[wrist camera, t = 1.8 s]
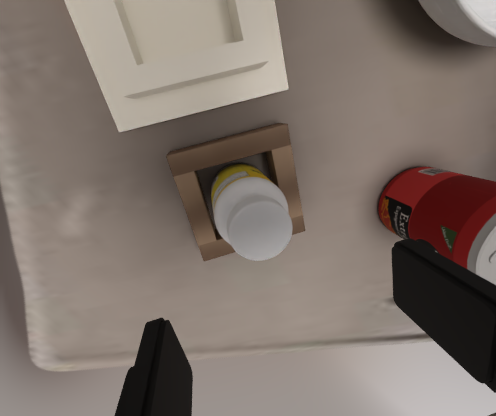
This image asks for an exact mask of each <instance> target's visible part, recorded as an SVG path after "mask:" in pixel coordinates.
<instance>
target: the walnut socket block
mask: <svg viewBox="0 0 496 416" xmlns="http://www.w3.org/2000/svg"><path fill="white" fill-rule="evenodd" d="M263 152H266V156H267V161H268V166H269V170H270V175H271V180H272V182H273V183H274V184H275V185H276V186H277V187H278V188H279V189H280V190H281V191H282V193H283V194H284V196H285V198H286V201H287V204H288V212H289V216H290V218H291V221H292V235H293V234H296V233H300V232H303V231H305V226H304V220H303V214H302V208H301V202H300V196H299V190H298V184H297V178H296V172H295V166H294V160H293V154H292V148H291V142H290V136H289V130H288V124H283V123H277V124H273V125H269V126H266V127H262V128H258V129H254V130H250V131H247V132H243V133H239V134H235V135H232V136H228V137H224V138H220V139H216V140H213V141H209V142H205V143H201V144H198V145H194V146H190V147H186V148H183V149H179V150H175V151H171V152H169V153H168V154H167V156H166V158H167V160H168V163H169V166H170V169H171V171H172V174H173V177H174V180H175V183H176V185H177V188H178V191H179V194H180V196H181V199H182V202H183V205H184V208H185V210H186V213H187V216H188V219H189V221H190V224H191V227H192V230H193V232H194V235H195V238H196V241H197V244H198V246H199V249H200V252H201V255H202V257H203V260H204V261H207V260H210V259H213V258H217V257H220V256H223V255H227V254H230V253H233V252H236V251H235V250H234V249H233V247H232V246H231V245H230V244H229V243H227V242H226V241H225V240H224V239H223V238H222V237H221V235H220V234H219V232H218V230H217V229H215V227H214V224H213V221H212V218H211V215H210V211H209V208H208V205H207V202H206V199H205V196H204V193H203V190H202V187H201V183H200V180H199V177H198V174H197V170H200V169H204V168H208V167H211V166H215V165H219V164H222V163H226V162H230V161H233V160H237V159H241V158H244V157H248V156H252V155H255V154H259V153H263Z"/></svg>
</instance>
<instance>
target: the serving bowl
mask: <svg viewBox="0 0 496 416" xmlns="http://www.w3.org/2000/svg"><path fill="white" fill-rule="evenodd" d="M418 1H419V3H420V4H421V6H422V7H423V9H424V10H425V11H426V13H427V14H428V15H429V16H430V17H431V18H432V19H433V20H434V22H435V23H437V24H438V25H439V26H440V27H441V28H443V29H444V30H445V31H447V32H448V33H450V34H451V35H453V36H455V37H457V38H459V39H462V40H464V41H467V42H470V43H473V44H477V45H482V46H489V47H496V0H418Z"/></svg>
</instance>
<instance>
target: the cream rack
mask: <svg viewBox="0 0 496 416" xmlns="http://www.w3.org/2000/svg"><path fill="white" fill-rule="evenodd" d="M64 1H65V4H66V6H67V9H68V11H69V13H70V16H71V18H72V21H73V23H74V25H75V28H76V30H77V33H78V35H79V37H80V40H81V42H82V45H83V47H84V49H85V52H86V54H87V57H88V59H89V61H90V64H91V66H92V69H93V71H94V73H95V76H96V78H97V81H98V83H99V85H100V88H101V90H102V93H103V95H104V97H105V100H106V102H107V105H108V107H109V109H110V112H111V114H112V117H113V119H114V121H115V124H116V126H117V129H118V131H119V132H124V131H128V130H132V129H136V128H140V127H144V126H147V125H151V124H155V123H159V122H163V121H167V120H171V119H175V118H179V117H183V116H187V115H191V114H194V113H198V112H202V111H206V110H210V109H214V108H218V107H222V106H226V105H230V104H234V103H238V102H241V101H245V100H249V99H253V98H257V97H261V96H265V95H269V94H273V93H277V92H281V91H285V90H288V89H289V88H288V82H287V75H286V69H285V63H284V56H283V50H282V44H281V37H280V31H279V25H278V18H277V12H276V6H275V0H64Z"/></svg>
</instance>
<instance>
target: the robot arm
mask: <svg viewBox="0 0 496 416" xmlns="http://www.w3.org/2000/svg"><path fill="white" fill-rule="evenodd" d="M392 272H393V298H394V301H395V303H396V305H397V306H398V307H399V308H400V309H401V310H402V311H403V312H404V313H405V314H406V315H407V316H409V317H410V318H411V319H412V320H413V321H414V322H415V323H416V324H417V325H418V326H419V327H420V328H421V329H422V330H423V331H425V332H426V333H427V334H428V335H429V336H430V337H431V338H432V339H433V340H434V341H435V342H436V343H437V344H438V345H439V346H441V347H442V348H443V349H444V350H445V351H446V352H447V353H448V354H449V355H450V356H451V357H452V358H454V360H455V361H457V362H458V363H459V364H460V365H461V366H462V367H463V368H464V369H465V370H466V371H467V372H468V373H469V374H470V375H471V376H472V377H474V378H475V379H476V380H477V381H479V382H480V383H485V384H486V385H487V386H488V387H489V388H490V389H491V390H492V391H494V392H496V285H495V284H493V283H491V282H489V281H488V280H486V279H484V278H482V277H480V276H478V275H477V274H475V273H473V272H471V271H469V270H468V269H466V268H464V267H462V266H460V265H459V264H457V263H455V262H453V261H451V260H450V259H448V258H446V257H444V256H442V255H441V254H439V253H437V252H435V251H433V250H432V249H430V248H428V247H426V246H424V245H423V244H421V243H419V242H417V241H415V240H414V239H411V238H408V239H405V240H402V241H399V242H396V243H395V244H394V247H393V248H392ZM192 379H193V378H192V370H191V367H190V365H189V362H188V360H187V358H186V356H185V354H184V351H183V349H182V347H181V345H180V343H179V341H178V338H177V336H176V334H175V332H174V330H173V328H172V325H171V323H170V321H169V320H166V321H165V320H164V319H163V318H159V319H156V320H153V321H150V322H147V323H146V325H145V328H144V332H143V336H142V339H141V343H140V347H139V350H138V354H137V358H136V362H135V365H134V366H133V367H131V368H130V369H129V370H128V373H127V375H126V378H125V382H124V385H123V389H122V392H121V396H120V399H119V403H118V406H117V410H116V413H115V416H191V414H192V413H191V412H192V411H191V410H192V381H193V380H192ZM489 416H496V413H494V414H491V415H489Z"/></svg>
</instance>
